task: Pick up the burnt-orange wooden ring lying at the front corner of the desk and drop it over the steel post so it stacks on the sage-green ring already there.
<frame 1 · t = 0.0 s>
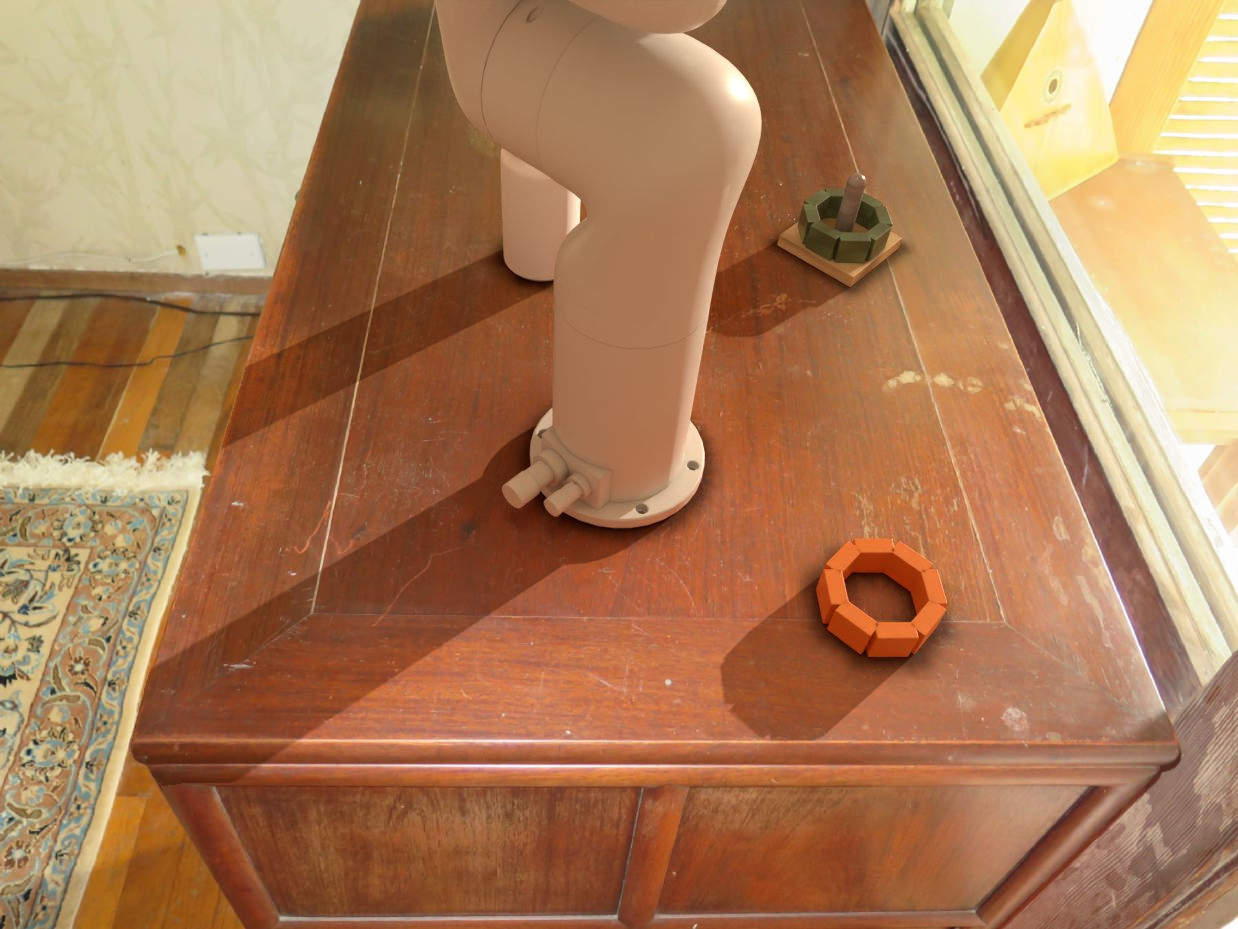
ring stand: (838, 246, 90), on the table
can: (541, 261, 86), on the table
orange ring: (875, 606, 65), on the table
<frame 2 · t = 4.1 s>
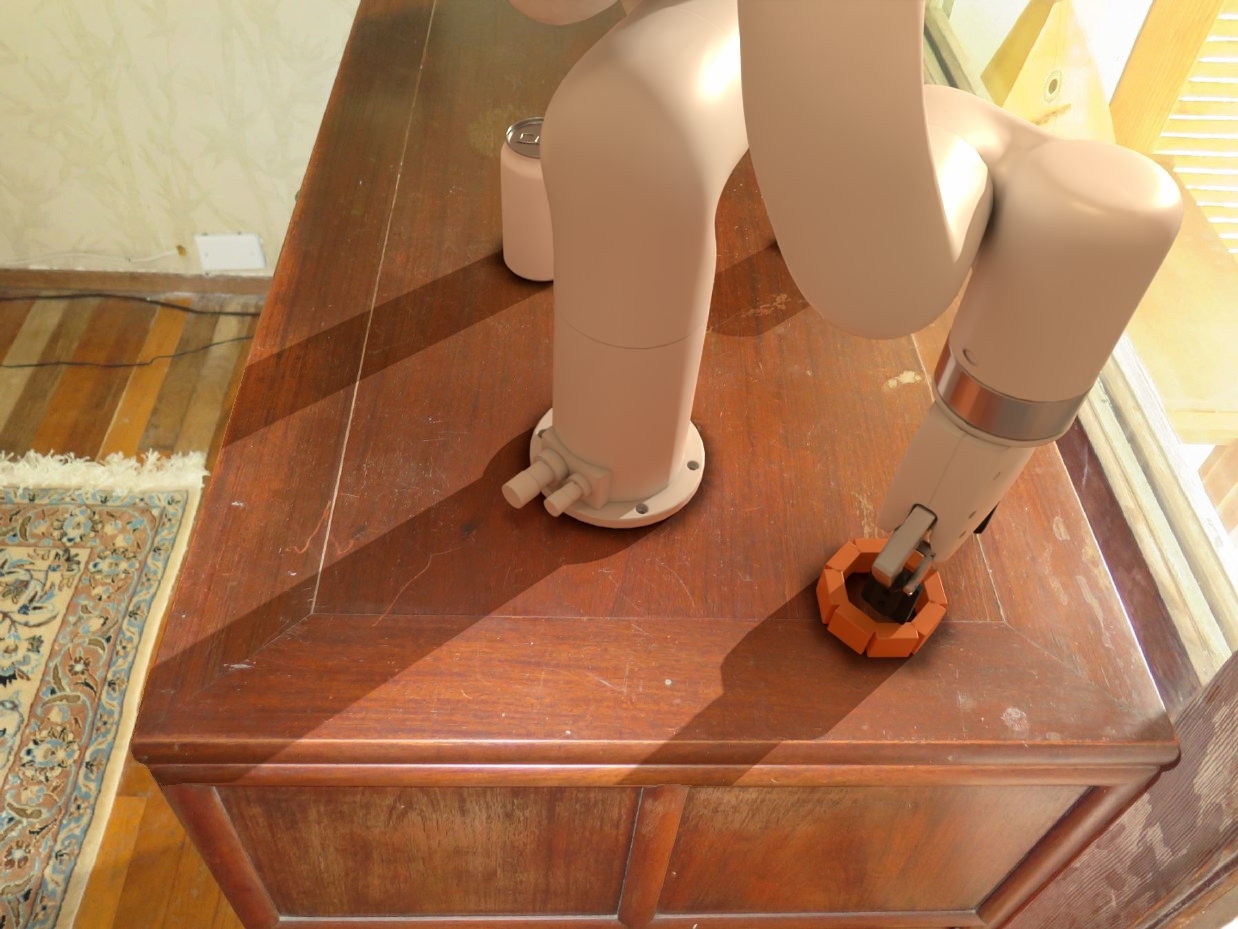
hand: (923, 563, 65), 2 cm above the table, tool pointing down, fingers open, 9 cm apart
orange ring: (875, 606, 65), on the table, touching gripper
everything else where it was.
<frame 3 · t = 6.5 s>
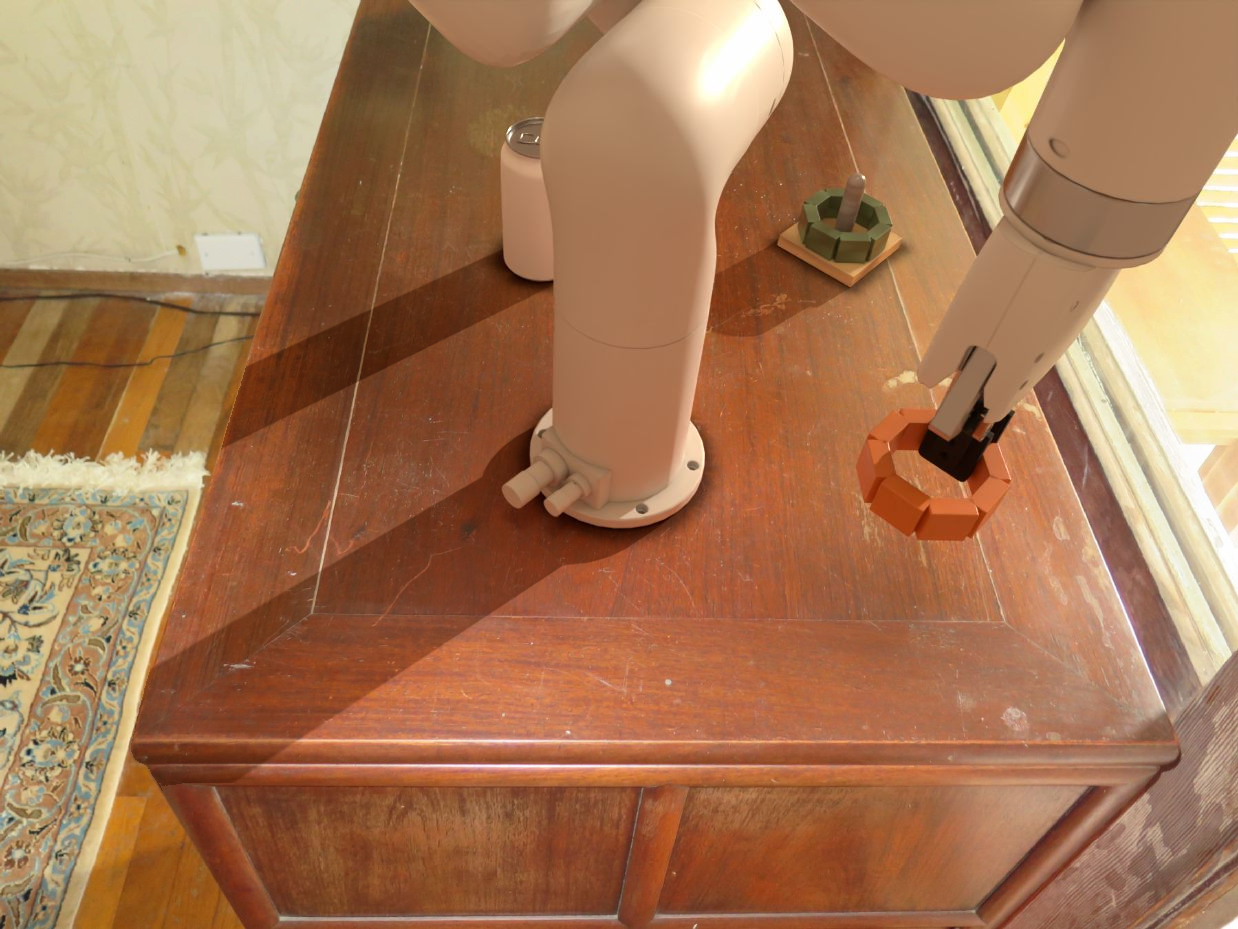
hand: (953, 454, 57), 12 cm above the table, tool pointing down, fingers closed on orange ring, 1 cm apart
orange ring: (924, 486, 56), point 12 cm above the table, touching gripper
everything else where it was.
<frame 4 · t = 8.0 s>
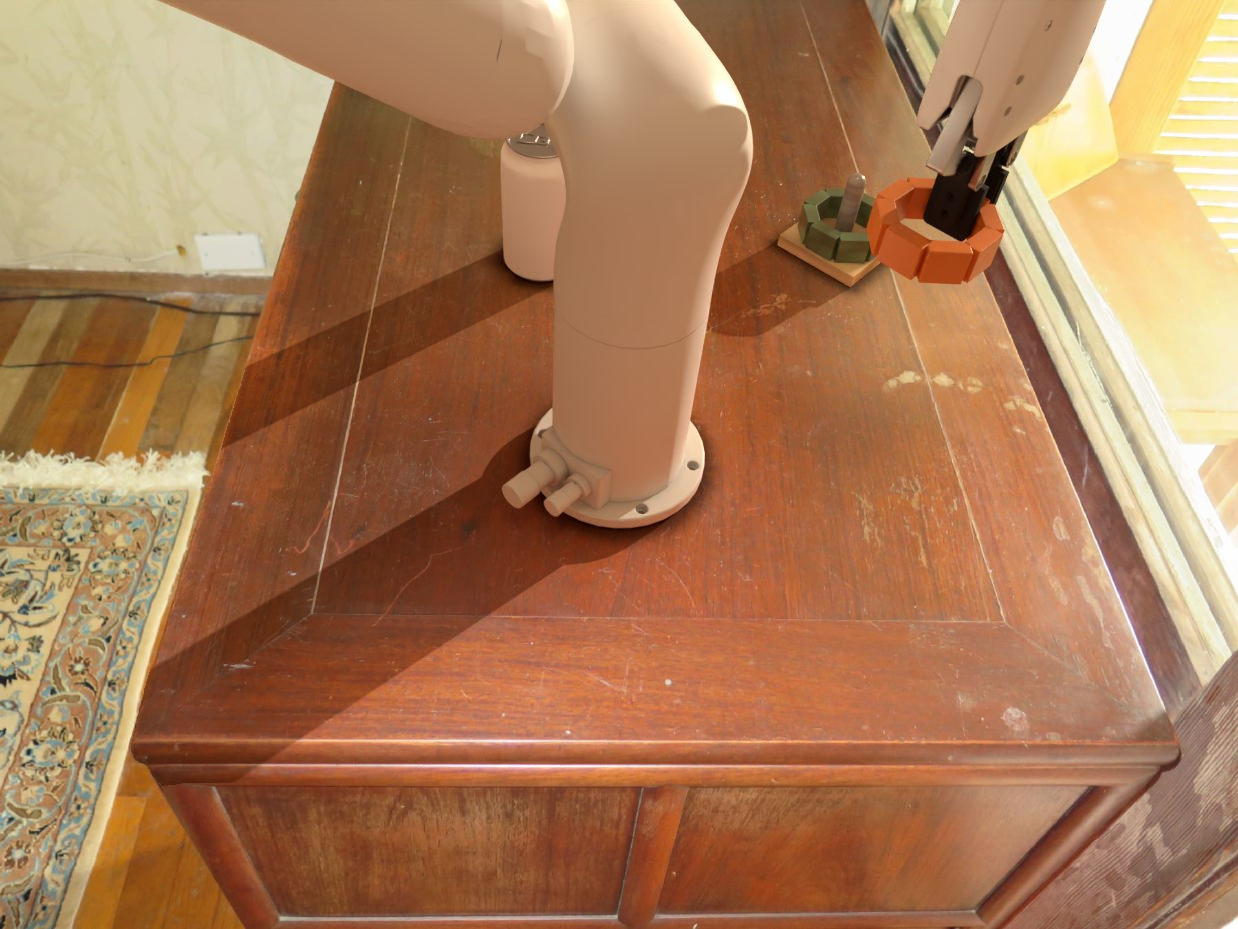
hand: (955, 220, 64), 17 cm above the table, tool pointing down, fingers closed on orange ring
orange ring: (928, 245, 63), point 17 cm above the table, touching gripper
everything else where it was.
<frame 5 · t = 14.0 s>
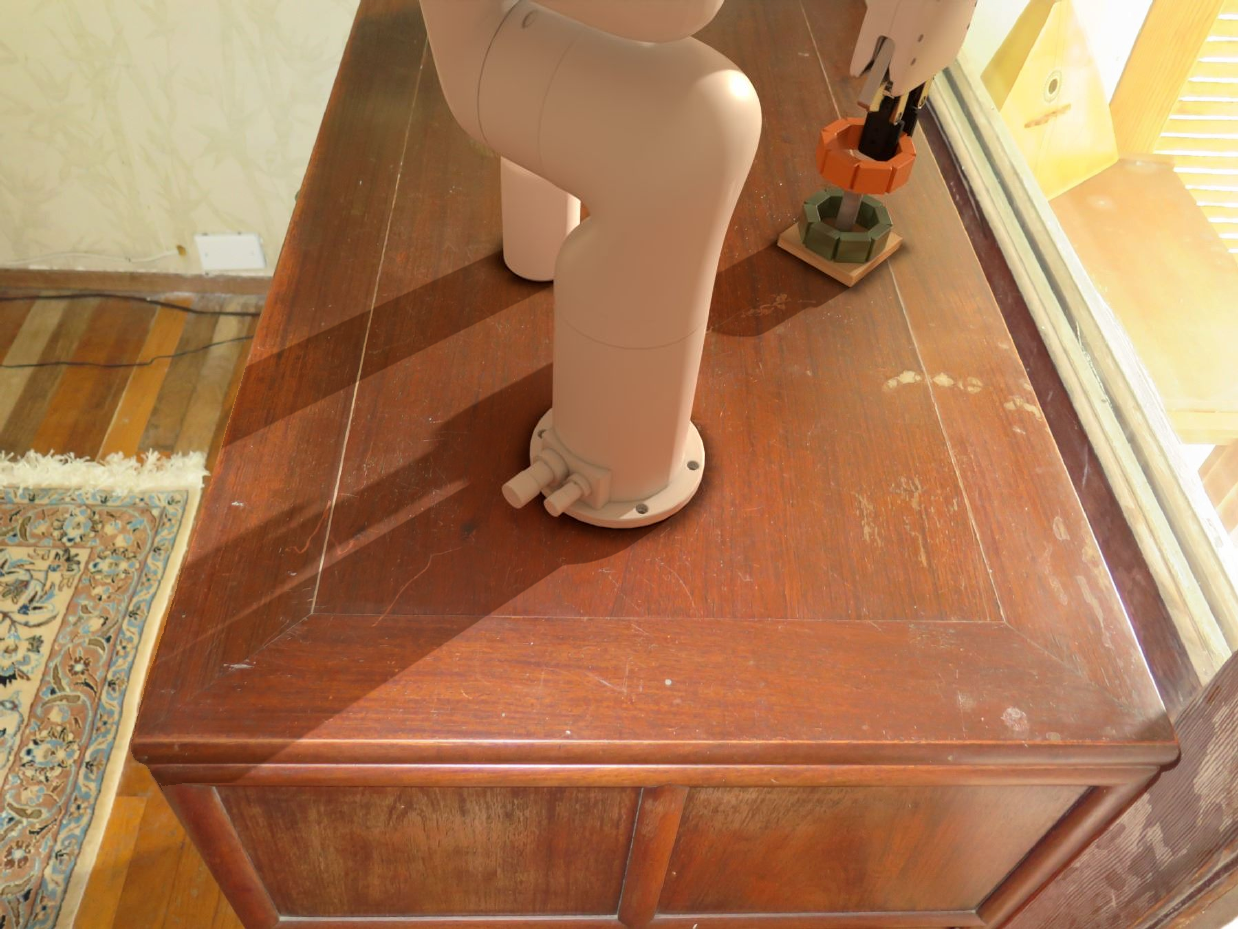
hand: (882, 150, 85), 9 cm above the table, tool pointing down, fingers closed on orange ring
orange ring: (861, 167, 83), point 8 cm above the table, touching gripper
everything else where it was.
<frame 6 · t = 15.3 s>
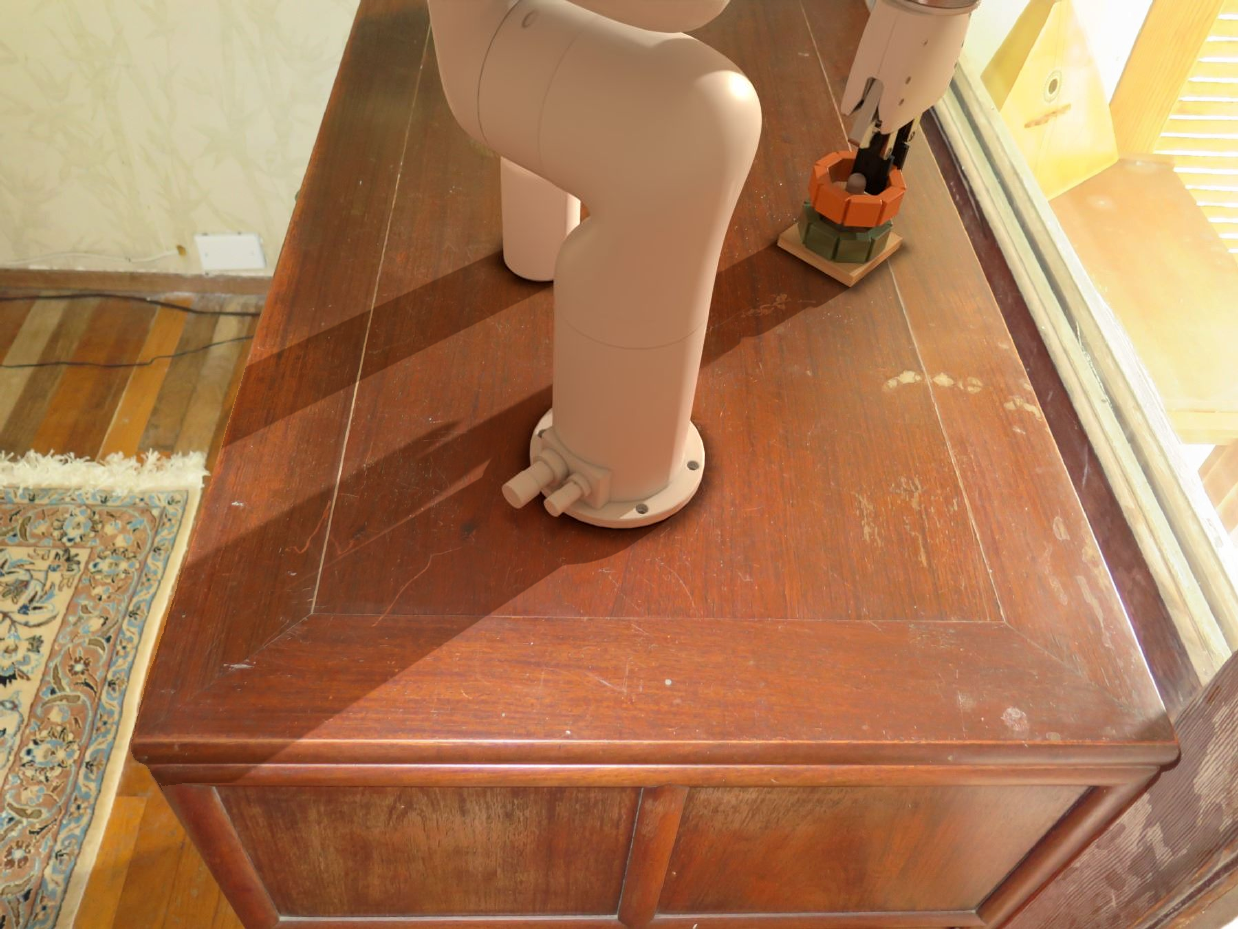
hand: (873, 183, 87), 5 cm above the table, tool pointing down, fingers closed on orange ring
orange ring: (852, 199, 86), point 5 cm above the table, touching gripper
everything else where it was.
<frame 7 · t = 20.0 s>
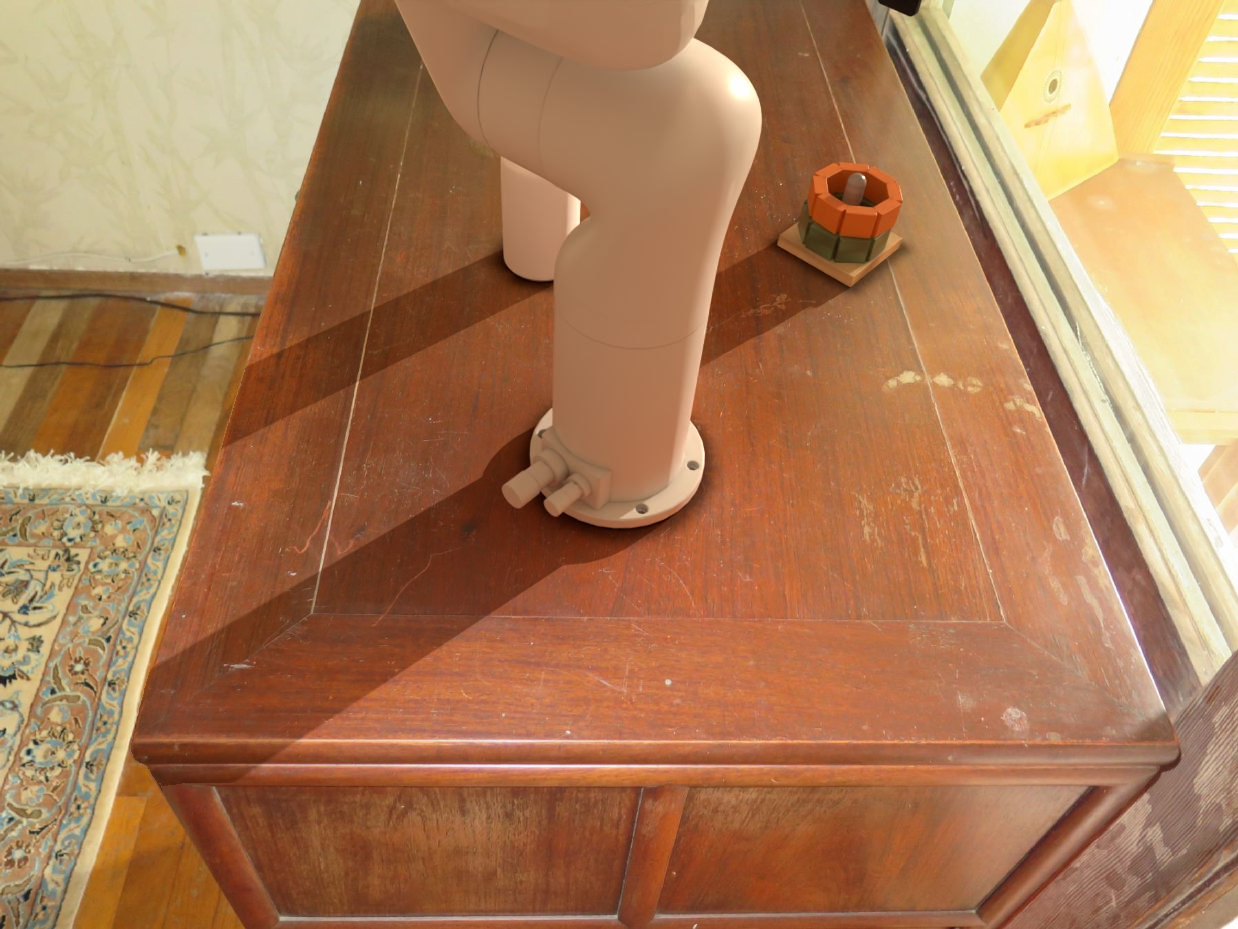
orange ring: (850, 211, 87), point 4 cm above the table, touching ring stand
everything else where it was.
at the end: orange ring 0.5 cm off-centre on the ring stand, point 3.6 cm above the ring stand's base; orange ring tilted 0°; the gripper is holding nothing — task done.
